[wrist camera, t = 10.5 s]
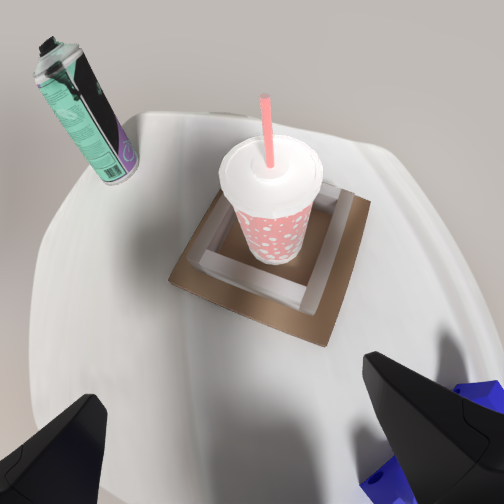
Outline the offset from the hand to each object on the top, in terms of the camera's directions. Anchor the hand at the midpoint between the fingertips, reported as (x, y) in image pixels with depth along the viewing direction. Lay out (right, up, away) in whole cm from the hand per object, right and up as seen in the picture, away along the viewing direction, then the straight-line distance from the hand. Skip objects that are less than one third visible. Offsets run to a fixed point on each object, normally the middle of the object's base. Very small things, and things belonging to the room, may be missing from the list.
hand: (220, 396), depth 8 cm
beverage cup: (+3, +5, +16) cm, 17 cm away
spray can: (-16, +15, +24) cm, 32 cm away
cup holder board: (+3, +5, +17) cm, 18 cm away
